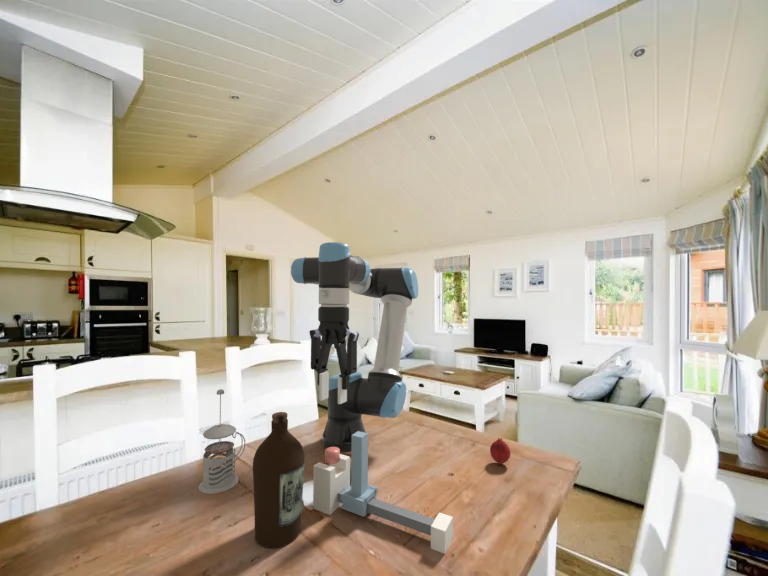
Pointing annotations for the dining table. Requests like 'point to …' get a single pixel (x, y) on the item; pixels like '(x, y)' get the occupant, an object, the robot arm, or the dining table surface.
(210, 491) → the french press
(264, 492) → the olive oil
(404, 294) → the robot arm
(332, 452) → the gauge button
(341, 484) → the slide rail
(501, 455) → the onion
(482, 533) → the dining table surface
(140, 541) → the dining table surface
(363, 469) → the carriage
